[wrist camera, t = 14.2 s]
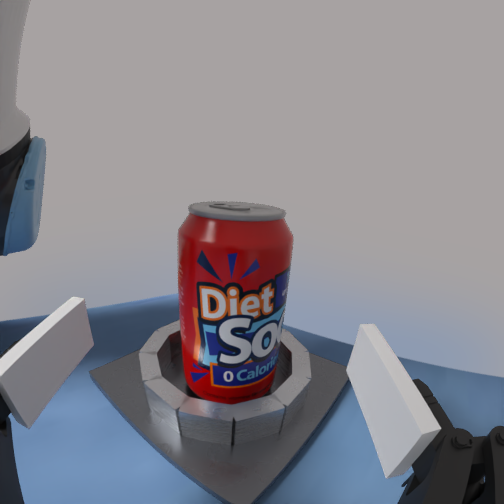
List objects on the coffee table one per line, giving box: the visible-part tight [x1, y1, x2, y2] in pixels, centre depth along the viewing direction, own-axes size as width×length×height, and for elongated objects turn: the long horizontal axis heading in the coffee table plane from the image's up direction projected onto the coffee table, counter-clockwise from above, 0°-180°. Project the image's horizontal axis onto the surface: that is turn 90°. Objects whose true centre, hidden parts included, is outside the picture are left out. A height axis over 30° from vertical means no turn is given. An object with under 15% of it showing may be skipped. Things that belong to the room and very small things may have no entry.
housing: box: [89, 320, 349, 504], centre depth 22 cm, size 18×18×4 cm
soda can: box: [178, 202, 293, 405], centre depth 21 cm, size 8×8×15 cm
